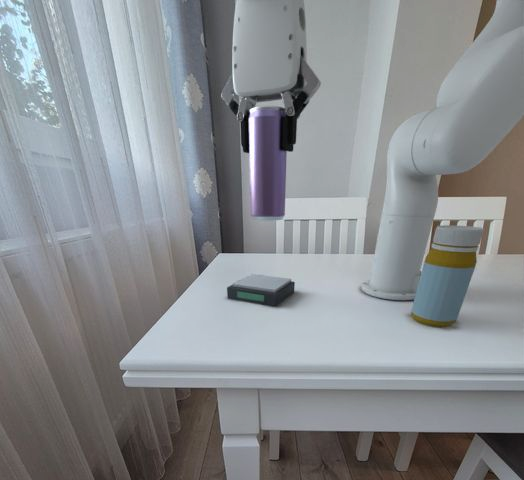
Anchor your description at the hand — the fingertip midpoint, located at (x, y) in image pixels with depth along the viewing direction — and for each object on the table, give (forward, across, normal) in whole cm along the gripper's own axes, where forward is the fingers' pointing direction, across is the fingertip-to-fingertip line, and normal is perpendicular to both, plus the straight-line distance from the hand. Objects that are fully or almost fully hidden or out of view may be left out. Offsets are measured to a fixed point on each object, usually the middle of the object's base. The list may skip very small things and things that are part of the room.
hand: (267, 150), depth 46 cm
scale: (+25, +3, -4) cm, 26 cm away
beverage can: (+10, 0, 0) cm, 10 cm away
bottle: (+26, -30, -4) cm, 39 cm away
